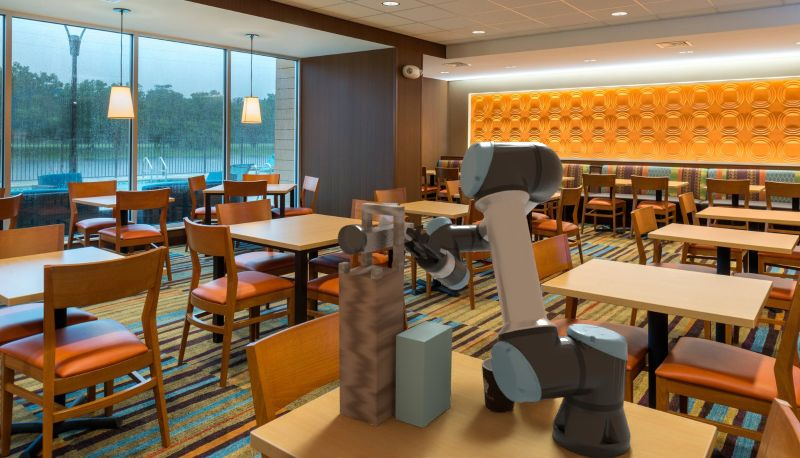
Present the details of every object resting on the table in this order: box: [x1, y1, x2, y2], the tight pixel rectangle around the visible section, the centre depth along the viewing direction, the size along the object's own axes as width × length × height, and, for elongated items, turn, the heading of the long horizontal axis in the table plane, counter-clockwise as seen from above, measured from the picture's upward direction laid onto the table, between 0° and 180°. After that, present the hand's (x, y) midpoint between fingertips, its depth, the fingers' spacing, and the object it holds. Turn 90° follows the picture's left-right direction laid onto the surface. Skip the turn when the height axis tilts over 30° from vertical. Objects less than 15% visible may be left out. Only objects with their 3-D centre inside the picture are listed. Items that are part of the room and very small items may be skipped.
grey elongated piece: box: [337, 221, 415, 256], centre depth 128 cm, size 6×21×6 cm, turn 146°
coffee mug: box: [481, 357, 515, 414], centre depth 136 cm, size 12×9×10 cm
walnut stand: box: [338, 202, 406, 427], centre depth 129 cm, size 10×10×46 cm
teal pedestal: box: [394, 320, 453, 429], centre depth 130 cm, size 7×12×19 cm, turn 146°
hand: (389, 223), depth 131 cm, fingers closed on grey elongated piece, 4 cm apart
